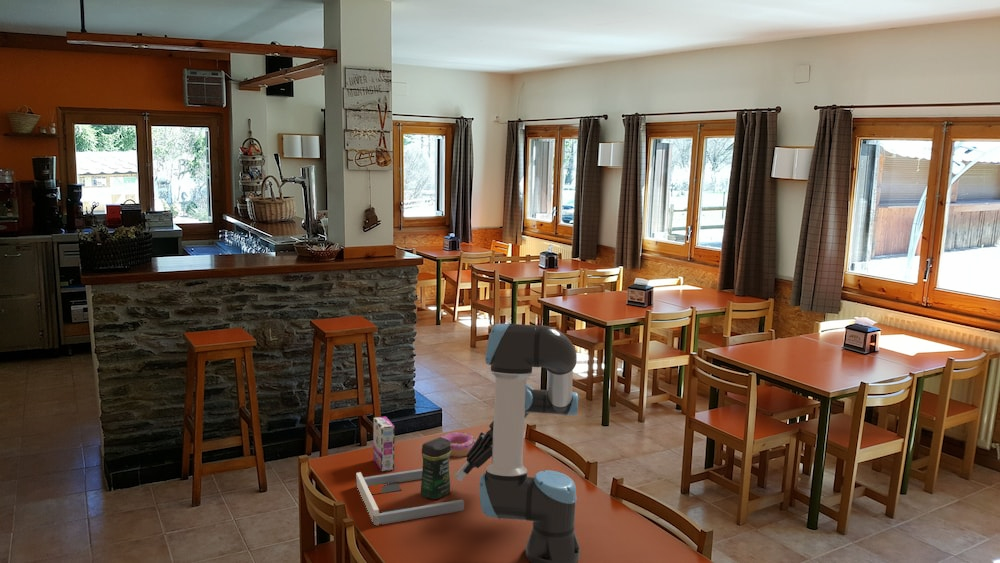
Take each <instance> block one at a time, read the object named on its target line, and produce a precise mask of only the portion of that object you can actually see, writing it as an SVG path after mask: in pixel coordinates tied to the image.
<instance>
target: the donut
mask: <svg viewBox="0 0 1000 563" xmlns="http://www.w3.org/2000/svg"><path fill="white" fill-rule="evenodd" d="M440 437H442V438H445V439H447V440H449V441H450V443H451V453H450V457H455V458H462V457H466V455H467V453H468V452H469V451H470V449H471V448H472V446H473V445H474V443H475V442H476V441H477V440H476V438H475V437H474V436H473V435H471V434H470V433H466V432H460V431H459V432H457V431H456V432H448V433H445V434H443V435H441V436H440Z"/></svg>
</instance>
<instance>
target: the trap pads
mask: <svg viewBox="0 0 1000 563" xmlns="http://www.w3.org/2000/svg"><path fill="white" fill-rule="evenodd" d="M386 486H387V487H386ZM381 488H383V489H382V490H383V491H382V490H381V492H382V494H387V492H389V493H393V492H394V491H395V492H400V491H402V487H401V486H400V485H399V483H397V482H395V483H389V484H387V485H384V486H383V487H381ZM381 492H380V493H381ZM407 508H413V507H412V506H407V507H400V508H394V509H390V510H389V509H388V510H387V509H386V510H383V511H380V512H382V513H383V512H389V511H395V510H401V509H407Z"/></svg>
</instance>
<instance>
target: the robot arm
mask: <svg viewBox="0 0 1000 563" xmlns="http://www.w3.org/2000/svg"><path fill="white" fill-rule="evenodd" d="M577 357H578V356H577V350H576V348H575V346H574V345H573V343H572V341H571V340H570V338H568V337H567V336H566V335H565V334H564V333H563V332H561V331H560V330H559V329H556V328H554V327H552V326H550V325H549V326H548V325H535V324H519V323H518V324H517V323H496V324H494V325H493V326H492V327H491V330H490V332H489V336H488V341H487V345H486V350H485V360H484V361H485V364H487V365H488V366H490V372H491V374H492V375H493V376H494V378H495V385H494V386H495V388H494V406H493V421H491V423H490V424H489V425H488V427H489V428H490V429H489V430H487V431H486V433H483V432H480V433H479V435H478V437H477V439H476V440H475V441H476V442H475V443H474V445H473V446H472V448H471V449H470V451H469V452H468V453H467V455H466V456H465V457H466V461H465V462H464V463H463V464H462V466H460V468H459V469H458V470H457V471H456V472H455V473H454V475H453V477H454V478H455V479H456V480H458V482H460V483H461V482H462V481H463V480H464V478H465V477H467V475H469V473H470V472H471V471H472V470H473V469H474V468H476V469H479V468H480V467H481V466H482V465H484V464H485V463H486V462H487V461H488V460H489V459H491V462H490V464H489V465H487V466H486V467H485V472H484V473H481V474H480V478H479V488H478V489H479V490H478V491H479V492H478V494H479V502H480V503H479V504H480V507H481V508H480V509H481V511H482V513H483V515H484V516H485V517H489V518H494V519H498V520H501V519H503V520H505V519H506V520H517V521H527V522H528V521H529V522H532V529H531V531H530V534H529V537H528V540H527V541H526V544H525V557H526V559H527V560H528V561H529V563H578V562H579V561H580V553H581V552H580V551H581V550H580V545H579V542H578V538H577V535H576V532H575V522H576V502H577V497H578V496H577V486H576V483H575V482H574V480H573V479H572V478H571V477H569V476H568V475H567V474H565V473H562V472H560V471H556V470H549V469H548V470H540V471H537V472H536V473H535V475H534V476H533V477H530V476H528V469H527V468H526V467H525V466H524V464H523V456H524V437H525V436H524V432H525V419H526V418H527V417H528V416H529V415H530V413H532V414H533V413H534V414H546V415H547V414H548V415H561V416H575V415H577V414H578V408H579V407H578V406H579V394H578V393H577V392H576V391H573V381H574V380H573V379H574V378H573V375H574V371H573V370H574V369H575V367H576V364H577ZM533 368H545V369H546V372H547V374H546V375H547V376H546V377H547V389H534V388H533V387H531V386H530V385H529V384H527V379H528V378H529V377H530V376H531V375H532V374H533Z"/></svg>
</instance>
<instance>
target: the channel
mask: <svg viewBox="0 0 1000 563" xmlns="http://www.w3.org/2000/svg"><path fill="white" fill-rule="evenodd" d="M422 470H423V468H419V469H413V470H405V471H404V470H403V471H397V472H391V473H385V474H377V475H370V476H363V473H362V472H361V471H359V472H356V474H355V477H356V478H355V480H356V481H355V482H356V483H355V484H356V485H357V487H356V489H357V488H358V489H357V491H358V490H359V492H360V494H359V495H361V496H360V498H361V497H362V498H361V500H362V499H363V500H362V502H363V501H364V503H365V505H366V507H365V509H366V508H367V509H366V511H367V510H368V511H367V513H368V512H369V514H368V516H369V515H370V516H369V518H370V517H371V518H370V520H371V519H372V520H371V522H373V523H372V524H374V525H376V526H380V525H379V524H382V525H387V524H393V523H397V522H398V523H399V522H404V521H409V520H416V519H422V518H427V517H433V516H438V515H439V516H440V515H444V514H450V513H451V514H452V513H456V512H461V511H465V501H464V499H462V498H461V499H457V500H450V501H445V502H443V501H442V502H438V503H433V504H425V505H422V506H421V505H420V506H413V507H412V508H407V509H401V510H395V511H389V512H383V513H380V509H379V507H378V504H377V503H376V501H375V499H374V497H373V496H374V495H372V494H371V492H370V490H369V488H368V486H370V485H377V484H378V485H379V484H388V483H395V482H399V483H405V482H410V481H417V480H422ZM356 485H355V486H356ZM359 492H358V493H359ZM364 503H363V504H364ZM365 505H364V506H365ZM374 525H373V526H374Z"/></svg>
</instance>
